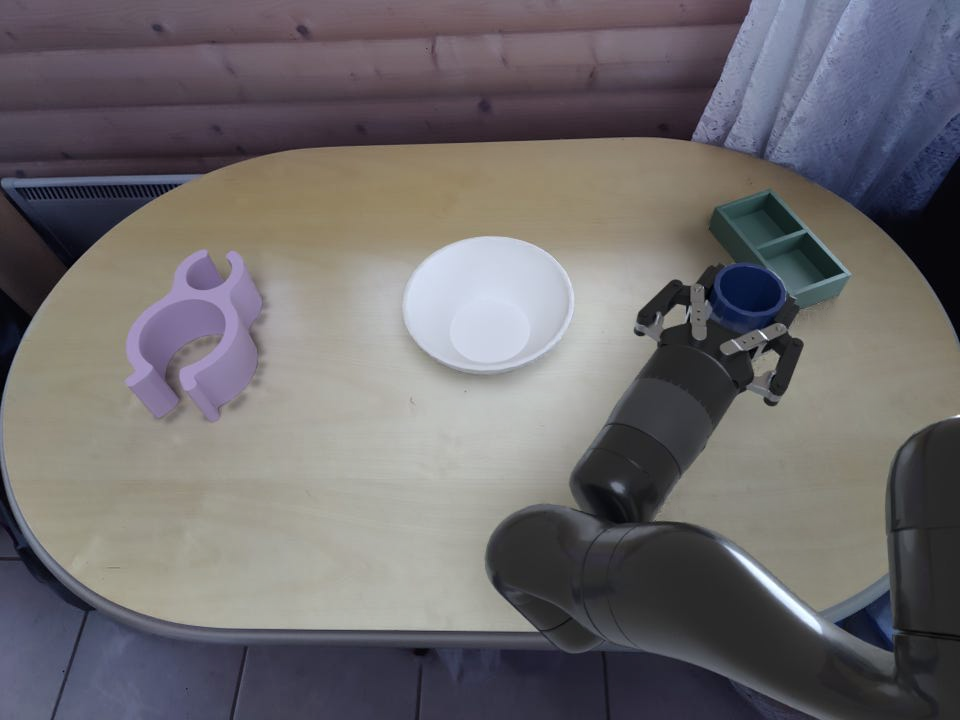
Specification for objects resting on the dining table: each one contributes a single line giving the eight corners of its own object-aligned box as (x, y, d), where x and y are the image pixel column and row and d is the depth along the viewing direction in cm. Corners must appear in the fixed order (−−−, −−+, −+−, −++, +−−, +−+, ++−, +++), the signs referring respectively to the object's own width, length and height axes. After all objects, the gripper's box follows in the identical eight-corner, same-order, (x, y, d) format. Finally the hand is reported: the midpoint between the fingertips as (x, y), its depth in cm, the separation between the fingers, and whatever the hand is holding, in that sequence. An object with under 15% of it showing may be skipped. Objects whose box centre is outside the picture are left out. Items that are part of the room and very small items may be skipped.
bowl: (529, 428, 75) (529, 396, 69) (379, 365, 81) (369, 331, 75) (595, 303, 84) (600, 265, 79) (457, 255, 90) (453, 217, 85)
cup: (762, 349, 68) (798, 284, 60) (733, 389, 66) (766, 327, 57) (708, 319, 71) (735, 252, 62) (677, 357, 68) (701, 292, 60)
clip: (193, 284, 90) (170, 247, 84) (284, 289, 88) (267, 252, 83) (133, 416, 79) (103, 384, 73) (236, 424, 77) (213, 392, 72)
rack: (780, 316, 82) (791, 296, 79) (708, 228, 91) (714, 206, 87) (839, 295, 83) (852, 274, 80) (762, 210, 92) (770, 188, 89)
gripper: (765, 438, 50) (849, 294, 57) (596, 345, 55) (692, 224, 62) (736, 481, 56) (815, 346, 63) (587, 394, 61) (676, 278, 68)
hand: (754, 286), depth 63 cm, fingers closed on cup, 6 cm apart
